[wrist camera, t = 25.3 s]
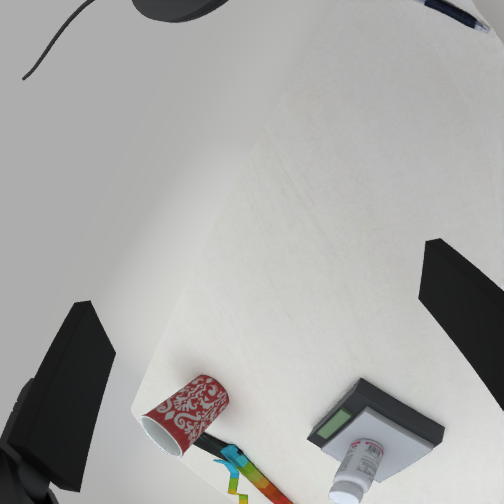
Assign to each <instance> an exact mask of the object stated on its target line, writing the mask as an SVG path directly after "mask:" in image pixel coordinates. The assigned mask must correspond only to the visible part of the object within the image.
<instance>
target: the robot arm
mask: <svg viewBox="0 0 504 504" xmlns="http://www.w3.org/2000/svg"><path fill="white" fill-rule="evenodd" d="M93 1H94V0H87V1H86V2H85V3H83V4H82V5H81V6H80V7H79V8H78V9H77V10H76V11H75V12H74V13H73V14H72V15H71V16H70V17H69V18H68V20H67V21H66V22H65V23H64V24H63V26H62V27H61V28H60V30H59V31H58V32H57V34H56V35H55V36H54V38H53V39H52V41H51V42H50V43H49V45H48V46H47V48H46V50H45V51H44V52H43V54H42V55H41V57H40V58H39V60H38V61H37V63H36V64H35V65H34V67H33V68H32V69H31V70H30V71H29V72H28V73H27V74H26V75H25V76H24V77H23V78H22V80H25V79H26V78H27V77H29V76H30V75H31V74H32V73H33V72H34V70H35V69H36V68H37V67H38V65H39V64H40V63H41V61H42V60H43V58H44V57H45V56H46V54H47V53H48V52H49V50H50V49H51V47H52V45H53V44H54V43H55V41H56V40H57V39H58V37H59V36H60V35H61V33H62V32H63V31H64V29H65V28H66V27H67V26H68V24H69V23H70V22H71V21H72V20H73V19H74V18H75V17H76V16H77V15H78V14H79V13H80V12H81V11H82V10H83V9H84V8H85V7H86V6H88V5H89V4H90V3H92V2H93ZM418 299H419V300H420V301H421V302H422V304H423V305H424V306H425V307H426V308H427V310H428V311H429V312H430V313H431V314H432V316H433V317H434V318H435V319H436V321H437V322H438V323H439V324H440V326H441V327H442V328H443V329H444V331H445V332H446V333H447V334H448V336H449V337H450V338H451V339H452V341H453V342H454V343H455V345H456V346H457V347H458V349H459V350H460V351H461V352H462V354H463V355H464V356H465V358H466V359H467V360H468V362H469V363H470V364H471V366H472V367H473V368H474V370H475V371H476V373H477V374H478V375H479V377H480V378H481V380H482V381H483V382H484V384H485V385H486V387H487V388H488V389H489V391H490V392H491V394H492V395H493V397H494V398H495V400H496V401H497V402H498V404H499V405H500V407H501V408H502V410H503V411H504V291H503V290H502V289H501V288H500V287H498V286H497V285H496V284H495V283H494V282H493V281H492V280H491V279H489V278H488V277H487V276H486V275H485V274H484V273H482V272H481V271H480V270H479V269H478V268H477V267H475V266H474V265H473V264H472V263H471V262H469V261H468V260H467V259H466V258H465V257H463V256H462V255H461V254H460V253H458V252H457V251H456V250H455V249H453V248H452V247H451V246H450V245H448V244H447V243H446V242H445V241H443V240H442V239H441V238H439V239H434V240H429V241H426V242H425V252H424V261H423V269H422V277H421V284H420V291H419V297H418ZM115 355H116V352H115V350H114V348H113V346H112V344H111V342H110V340H109V338H108V336H107V334H106V332H105V331H104V328H103V326H102V324H101V322H100V320H99V318H98V316H97V314H96V312H95V309H94V307H93V305H92V303H91V301H83V302H76V303H74V305H73V306H72V308H71V310H70V312H69V313H68V315H67V317H66V318H65V320H64V322H63V324H62V326H61V328H60V329H59V331H58V333H57V335H56V337H55V338H54V340H53V342H52V344H51V346H50V348H49V350H48V352H47V353H46V355H45V357H44V359H43V361H42V363H41V365H40V367H39V369H38V372H37V374H36V375H35V378H31V379H30V380H29V381H28V382H27V383H26V385H25V386H24V387H23V388H22V390H21V392H20V394H19V396H18V399H17V402H16V403H15V405H14V407H13V411H12V412H11V414H10V416H9V419H8V421H7V423H6V426H5V428H4V431H3V433H2V435H1V438H0V504H59V503H58V501H57V499H56V497H55V495H54V493H53V492H52V491H51V489H49V484H50V481H51V482H52V483H53V484H55V485H56V486H57V487H59V488H60V489H63V490H68V491H74V492H80V489H81V484H82V479H83V474H84V470H85V465H86V461H87V456H88V452H89V448H90V444H91V439H92V435H93V431H94V428H95V424H96V420H97V416H98V412H99V409H100V405H101V401H102V398H103V394H104V391H105V387H106V384H107V381H108V377H109V374H110V371H111V367H112V364H113V361H114V358H115Z"/></svg>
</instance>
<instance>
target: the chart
mask: <svg viewBox="0 0 504 504" xmlns="http://www.w3.org/2000/svg"><path fill="white" fill-rule="evenodd" d="M237 451H238V449H237V448H236V447H235V446H234V445H228V446H227V447H225V448H223V449H222V450H221V451H220V452H221V453H222V454H223V455H224V456H225V457H226V458H227V459H228V460H229V461H230V462H231V463H230V462H227V461H224V460H213V461H216V462H219V463H222V464H225V466H226V467H227V469H228V470H229V471H230V473H231V475H230V482H229V488H228V493H229V494H234V495H239V504H248V495H244V494H238V493H236V492H237V485H238V479H239V471H240V472H241V473H242V474H243V475H244V476H245V477H246V478H247V479H248V480H249V481H250V482H251V483H252V484H253V485H254V486H255V487H256V488H257V489H258V490H259V491H261V492H262V493H263V494H264V495H265V496H266V497H267V498H268V499H269V500H270V501H271V502H273V503H274V504H293V503H292V502H290V501H289V500H288V499H287V498H286V497H285V496H284V495H283V494H282V493H281V492H280V491H279V490H278V489H276V488H275V487H274V486H273V485H272V484H271V483H270V482H269V481H268V480H267V479H266V478H265V477H264V476H263V475H262V474H261V473H260V472H259V471H258V470H257V469H256V468H255V467H254V466H253V465H252V464H251V463H250V462H249V461H248V460H247V459H246V457H245V456H244V455H243V454H242V456H240V455H239V454H238V453H237ZM237 469H238V470H239V471H238V470H237Z"/></svg>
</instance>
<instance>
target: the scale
mask: <svg viewBox="0 0 504 504" xmlns="http://www.w3.org/2000/svg"><path fill="white" fill-rule="evenodd" d="M444 429H445V428H444V427H442V426H441V425H439V424H437V423H435V422H434V421H432V420H430V419H428V418H427V417H425V416H423V415H422V414H420V413H418V412H416V411H415V410H413V409H411V408H410V407H408V406H406V405H405V404H403V403H401V402H400V401H398V400H396V399H395V398H393V397H391V396H390V395H388V394H386V393H385V392H383V391H381V390H380V389H378V388H376V387H375V386H373V385H372V384H370V383H368V382H367V381H365V380H363V379H362V378H360V380H359V381H358V382H357V383H356V384H355V385H354V386H353V387H352V389H351V390H350V391H349V392H348V393H347V394H346V395H345V396H344V397H343V398H342V399H341V401H340V402H339V403H338V404H337V405H336V406H335V407H334V408H333V409H332V410H331V411H330V412H329V413H328V414H327V415H326V416H325V417H324V418H323V419H322V420H321V421H320V422H319V423H318V424H317V425H316V426H315V427H314V428H313V430H312V431H311V433H310V434H309V436H308V438H307V440H309V441H310V442H312V443H313V444H315V445H317V446H318V447H320V448H321V451H323V452H324V453H326V454H328V455H330V456H331V457H333V458H335V459H336V460H338V461H340V462H342V461H343V459H344V457H345V455H346V453H347V451H348V449H349V447H350V445H351V444H352V443H353V442H354V441H356V440H360V439H366V440H372V441H375V442H377V443H378V444H380V445H381V446H382V448H383V450H384V454H383V457H382V460H381V462H380V465H379V467H378V470H377V472H376V475H375V477H374V479H373V480H375V481H377V482H379V483H380V482H382V481H383V480H385V479H387V478H389V477H391V476H392V475H394V474H396V473H397V472H399V471H401V470H403V469H404V468H406V467H407V466H409V465H411V464H412V463H414V462H416V461H417V460H419V459H420V458H422V457H423V456H425V455H426V454H428V453H429V452H431V451H432V450H433V448H434V447H436V446H437V445H439V444H440V443H441V442H442V439H443V434H444Z"/></svg>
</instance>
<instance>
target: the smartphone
mask: <svg viewBox="0 0 504 504" xmlns="http://www.w3.org/2000/svg"><path fill="white" fill-rule="evenodd" d="M193 444H194V445H195V446H197V447H199V448H201V449H203V450H205V451H207V452H209V453H211V454H213V455H215V456H217V457H219V458H221V459H223V460H225V461H227V462H230V461H229V460H228V459H227V458H226V457H225V456H224V455H223V454H222V453H221V452H220V451H221V450H222V449H223V448H225V447H227V446H228V445H226V444H224V443H222V442H220V441H218V440H216V439H214V438H212V437H210V436H208V435H206V434H204V433H202V434H201V435H200V436H199V437H198V438H197V439H196V441H195V442H194V443H193ZM237 453H238V454H239V455H240V456H242V452H241V451H239V450H238V451H237ZM230 463H231V462H230Z"/></svg>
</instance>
